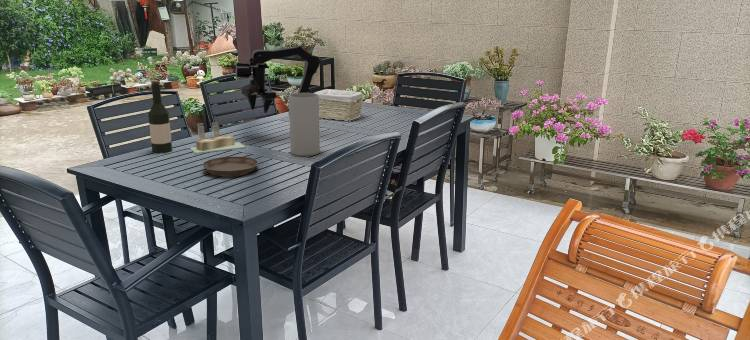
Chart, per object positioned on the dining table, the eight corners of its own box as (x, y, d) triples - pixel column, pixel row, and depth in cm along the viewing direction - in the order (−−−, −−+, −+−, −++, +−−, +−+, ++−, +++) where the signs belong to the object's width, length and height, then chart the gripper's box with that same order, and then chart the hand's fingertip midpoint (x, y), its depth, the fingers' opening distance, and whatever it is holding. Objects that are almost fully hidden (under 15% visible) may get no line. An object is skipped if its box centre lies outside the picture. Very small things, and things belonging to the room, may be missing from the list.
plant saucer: (236, 160, 229) (235, 152, 228) (269, 170, 217) (268, 162, 216) (192, 171, 214) (191, 163, 213) (225, 182, 201) (224, 174, 200)
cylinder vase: (314, 157, 234) (313, 98, 227) (286, 155, 236) (284, 96, 229) (323, 150, 246) (322, 93, 238) (296, 148, 248) (294, 92, 241)
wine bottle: (165, 154, 236) (158, 83, 227) (148, 152, 238) (140, 82, 229) (176, 149, 244) (169, 80, 235) (159, 148, 245) (152, 79, 237)
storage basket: (364, 117, 315) (364, 91, 310) (351, 123, 300) (351, 95, 296) (326, 113, 324) (326, 88, 320) (312, 118, 310) (312, 92, 306)
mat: (239, 142, 256) (239, 141, 256) (245, 147, 248) (245, 146, 247) (190, 148, 245) (190, 147, 245) (195, 153, 237) (195, 152, 237)
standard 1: (204, 140, 260) (202, 123, 258) (205, 144, 253) (204, 126, 251) (198, 140, 259) (197, 123, 257) (199, 144, 252) (198, 127, 250)
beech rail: (234, 144, 251) (228, 142, 254) (234, 136, 250) (227, 135, 253) (202, 151, 240) (196, 148, 243) (201, 143, 239) (195, 141, 242)
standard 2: (218, 139, 262) (217, 122, 260) (220, 143, 255) (218, 126, 253) (213, 139, 261) (211, 122, 259) (214, 143, 254) (213, 126, 252)
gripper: (231, 76, 256) (232, 110, 261) (258, 81, 245) (258, 116, 250) (251, 75, 265) (251, 107, 269) (277, 79, 253) (277, 113, 258)
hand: (259, 111), depth 261 cm, fingers open, 9 cm apart
